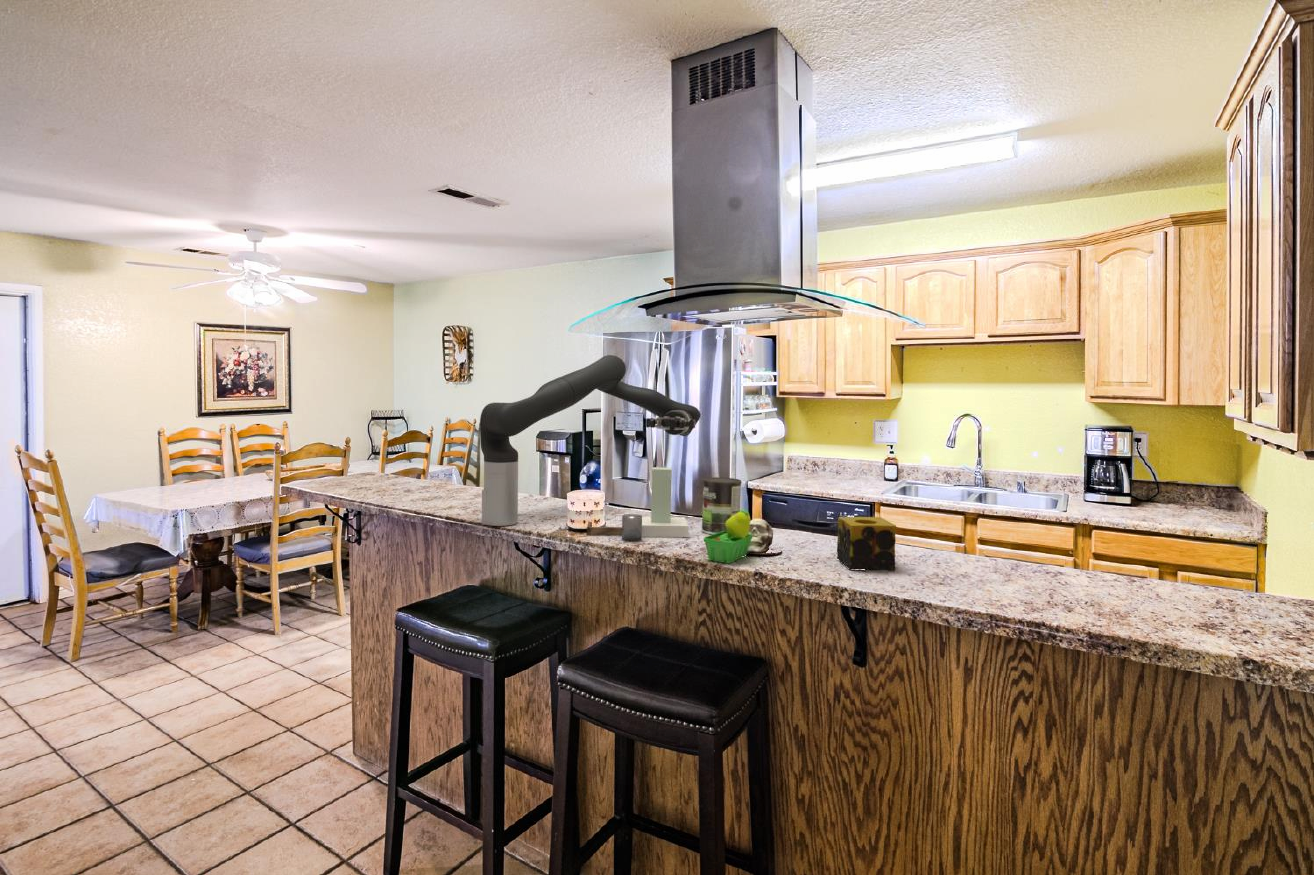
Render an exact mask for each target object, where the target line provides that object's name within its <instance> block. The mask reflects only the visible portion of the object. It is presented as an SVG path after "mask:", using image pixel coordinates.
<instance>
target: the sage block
mask: <svg viewBox="0 0 1314 875" xmlns="http://www.w3.org/2000/svg"><path fill="white" fill-rule="evenodd" d="M672 471H673V467H662V466H661V467H658V466H656V467H654V466H653V467H652V469H651V499H650V500H651V502H650V503H651V505H650V506H651V508H650V509H651V510H650V514H651V515H650V517H651V523H670V520H671V517H672V515H671V514H672V512H671V511H672V479H673V478H672Z"/></svg>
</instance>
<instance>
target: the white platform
mask: <svg viewBox="0 0 1314 875" xmlns="http://www.w3.org/2000/svg"><path fill="white" fill-rule="evenodd" d="M689 528H690V526H689V524H688V522H687V519H686V518H685V517H676V516H675V517H672V516H671V520H670V523H651V516H642V538H683V537H688V538H689Z"/></svg>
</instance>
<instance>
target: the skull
mask: <svg viewBox="0 0 1314 875" xmlns="http://www.w3.org/2000/svg"><path fill="white" fill-rule="evenodd" d="M748 534H752V535H753V537H752V539H751V541H750V545H749V548H748V551H747V554H751V555H779V554H778V553H777V554H776V553H775V554H773V553H772V552H771V553H766V552H767V551H768V550H769V548H770V546H771V545H772V544H773V538H774V532H773V528H772V526H770V524H769V523H768V522H767V521H766V520H764V519H762V518H753V519H750V530H749V533H748ZM781 552H782V553H783V551H781Z"/></svg>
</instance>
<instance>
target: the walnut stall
mask: <svg viewBox="0 0 1314 875" xmlns="http://www.w3.org/2000/svg"><path fill="white" fill-rule="evenodd" d="M586 536H621V537H622V526H593V527H592V522H589V521H588V523H587V526H586Z"/></svg>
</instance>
